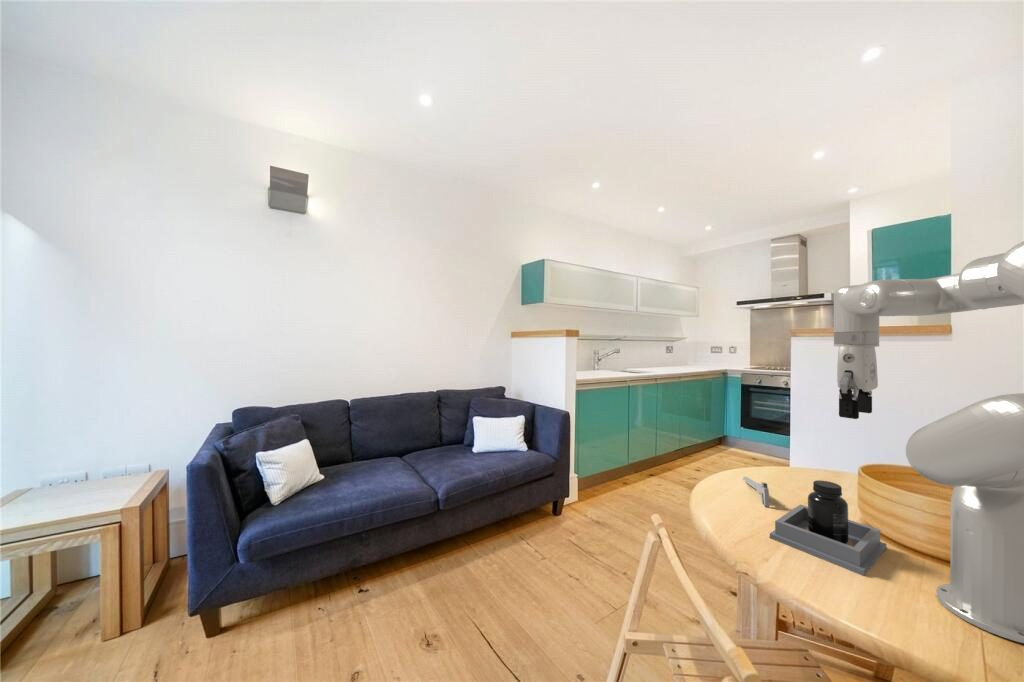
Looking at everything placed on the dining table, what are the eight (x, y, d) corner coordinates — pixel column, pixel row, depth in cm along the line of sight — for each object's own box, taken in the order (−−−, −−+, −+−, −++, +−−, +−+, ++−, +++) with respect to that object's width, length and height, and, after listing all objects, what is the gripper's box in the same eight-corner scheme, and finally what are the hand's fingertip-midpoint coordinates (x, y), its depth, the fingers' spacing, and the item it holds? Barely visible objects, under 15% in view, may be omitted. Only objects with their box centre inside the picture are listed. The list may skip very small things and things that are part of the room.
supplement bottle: (844, 534, 82) (844, 482, 82) (851, 550, 76) (852, 493, 76) (805, 526, 86) (806, 476, 86) (809, 540, 80) (810, 486, 80)
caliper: (769, 508, 98) (769, 485, 98) (764, 508, 98) (764, 485, 98) (746, 479, 117) (745, 460, 117) (742, 479, 118) (742, 460, 118)
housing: (886, 548, 79) (886, 530, 79) (864, 575, 70) (864, 555, 70) (797, 517, 92) (797, 502, 92) (769, 537, 84) (769, 520, 84)
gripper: (866, 340, 75) (866, 423, 75) (889, 339, 84) (889, 413, 84) (821, 340, 81) (821, 417, 81) (846, 339, 90) (846, 407, 91)
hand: (855, 414), depth 83 cm, fingers open, 9 cm apart
